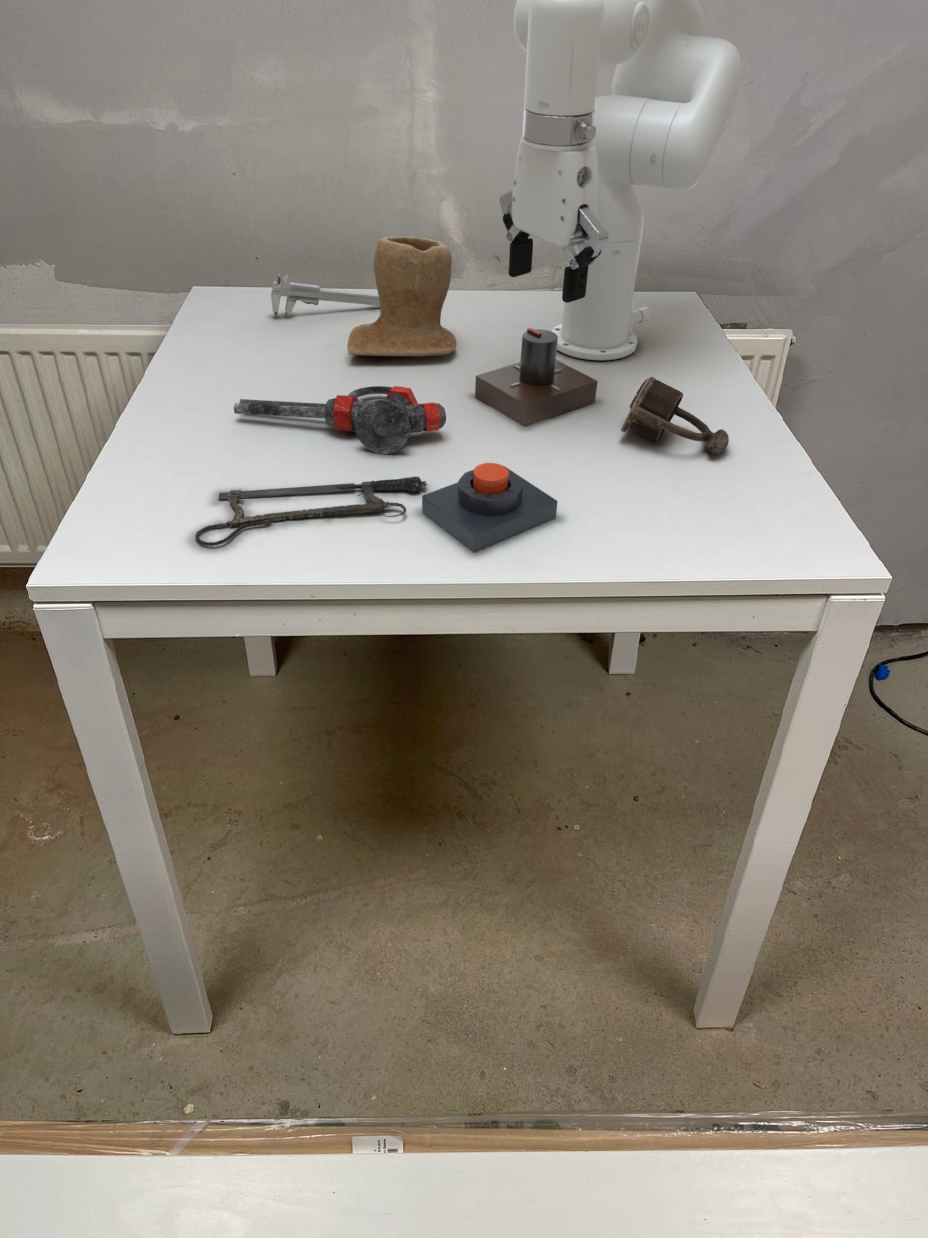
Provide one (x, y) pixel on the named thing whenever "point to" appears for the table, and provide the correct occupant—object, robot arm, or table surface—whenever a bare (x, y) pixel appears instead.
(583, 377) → the dial panel
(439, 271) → the stone cup
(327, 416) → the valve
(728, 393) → the table surface
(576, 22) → the robot arm
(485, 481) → the button
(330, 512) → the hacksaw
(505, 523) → the button box
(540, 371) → the dial
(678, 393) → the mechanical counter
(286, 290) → the caliper
